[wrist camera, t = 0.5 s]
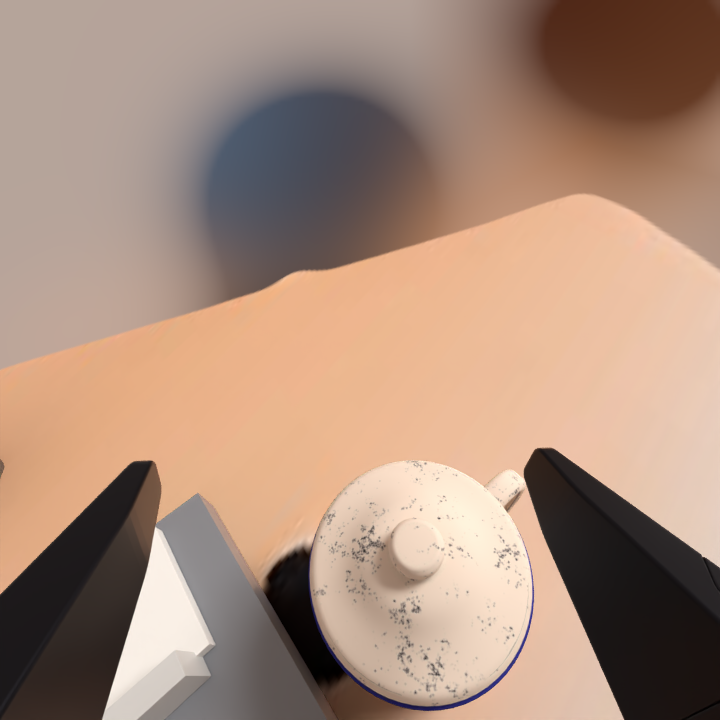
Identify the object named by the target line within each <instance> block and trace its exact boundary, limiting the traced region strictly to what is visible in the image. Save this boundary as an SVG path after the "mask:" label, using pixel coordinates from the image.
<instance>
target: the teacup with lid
mask: <svg viewBox="0 0 720 720" xmlns="http://www.w3.org/2000/svg"><path fill="white" fill-rule="evenodd" d="M524 490H525V481H524V479H523V478H522V477H521V476H520V475H518V474H517V473H516V472H515V471H513V470H505V471H503V472H501V473H499V474H498V475H496V476H495V477H494V478H493V479H492V480H490V481H489V482H488V483H487V484H486V485H485V486H484V487H483V486H482V485H481V484H479V483H478V482H477V481H475V480H474V479H472V478H471V477H469V476H467V475H466V474H464V473H462V472H460V471H458V470H456V469H453V468H451V467H448V466H445V465H442V464H438V463H434V462H428V461H419V460H408V461H398V462H393V463H389V464H385V465H382V466H379V467H376V468H374V469H372V470H370V471H368V472H366V473H364V474H362V475H361V476H359V477H358V478H356V479H355V480H354V481H352V482H351V483H350V484H349V485H348V486H346V487H345V488H344V489H343V490H342V491H341V492H340V493H339V495H338V496H337V497H336V498H335V499H334V501H333V502H332V503H331V505H330V506H329V508H328V509H327V511H326V513H325V514H324V516H323V518H322V520H321V522H320V524H319V527H318V529H317V532H316V534H315V538H314V541H313V544H312V549H311V554H310V561H309V575H308V580H309V594H310V601H311V606H312V610H313V614H314V618H315V621H316V624H317V627H318V629H319V631H320V634H321V636H322V638H323V640H324V642H325V644H326V646H327V648H328V650H329V651H330V653H331V654H332V656H333V657H334V659H335V660H336V662H337V663H338V664H339V665H340V666H341V668H342V669H343V670H344V671H345V672H346V673H347V674H348V675H349V676H350V677H351V678H352V679H353V680H354V681H355V682H356V683H357V684H359V685H360V686H361V687H362V688H364V689H365V690H366V691H368V692H370V693H371V694H373V695H374V696H376V697H378V698H380V699H382V700H384V701H386V702H388V703H391V704H394V705H397V706H400V707H403V708H408V709H413V710H423V711H435V710H444V709H450V708H455V707H458V706H461V705H464V704H467V703H469V702H471V701H473V700H475V699H477V698H479V697H480V696H482V695H483V694H485V693H486V692H488V691H489V690H490V689H492V688H493V687H494V686H495V685H496V684H498V683H499V682H500V680H501V679H502V678H503V677H504V676H505V675H506V674H507V673H508V671H509V670H510V669H511V667H512V666H513V664H514V663H515V661H516V660H517V658H518V656H519V654H520V652H521V650H522V648H523V646H524V643H525V641H526V638H527V635H528V632H529V628H530V624H531V619H532V614H533V603H534V586H533V576H532V570H531V565H530V561H529V557H528V553H527V550H526V547H525V545H524V542H523V540H522V537H521V535H520V533H519V531H518V529H517V527H516V526H515V524H514V522H513V520H512V519H511V517H510V516H509V514H508V512H509V511H510V510H511V509H512V507H513V506H514V505H515V504H516V502H517V501H518V499H519V498H520V497H521V495H522V493H523V492H524Z"/></svg>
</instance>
